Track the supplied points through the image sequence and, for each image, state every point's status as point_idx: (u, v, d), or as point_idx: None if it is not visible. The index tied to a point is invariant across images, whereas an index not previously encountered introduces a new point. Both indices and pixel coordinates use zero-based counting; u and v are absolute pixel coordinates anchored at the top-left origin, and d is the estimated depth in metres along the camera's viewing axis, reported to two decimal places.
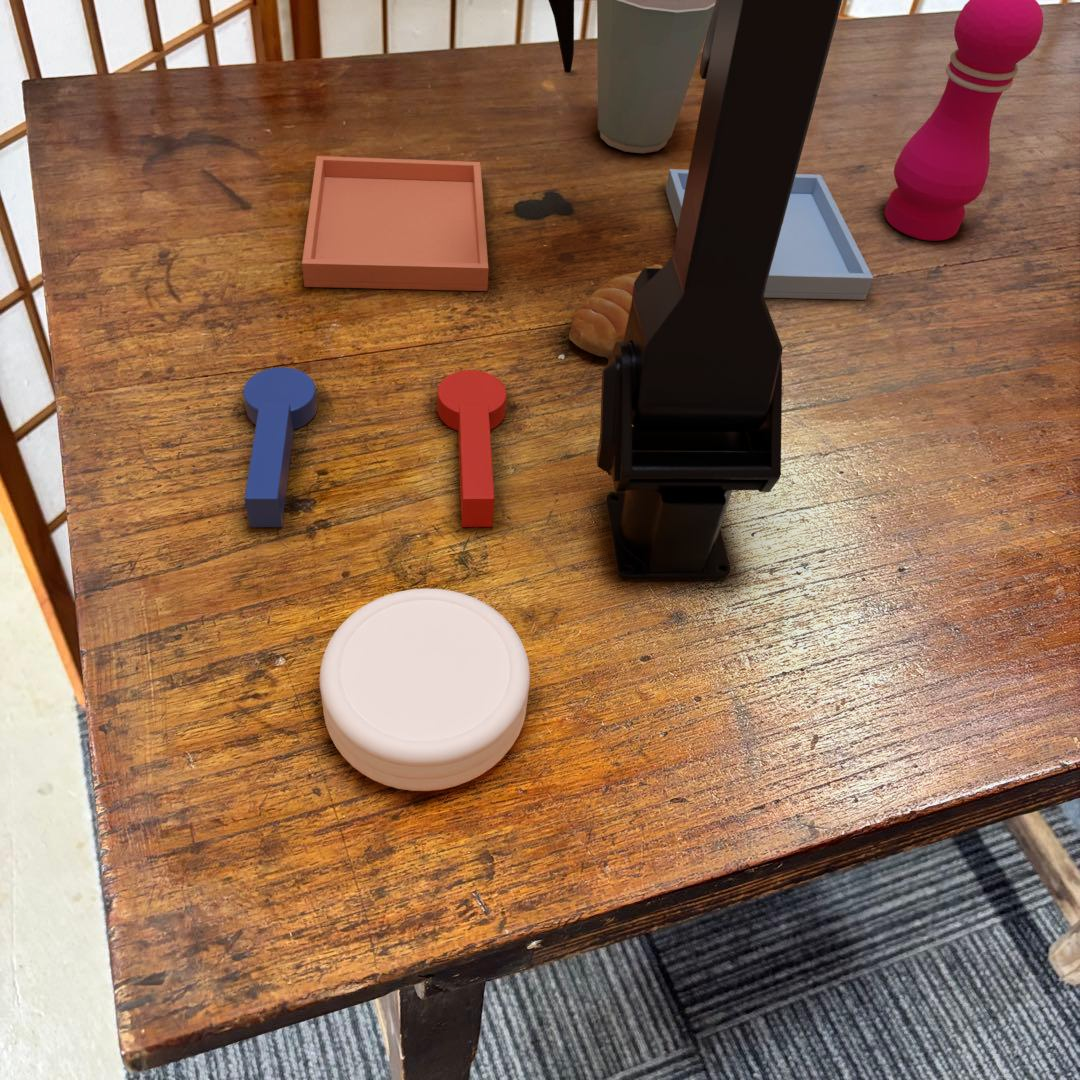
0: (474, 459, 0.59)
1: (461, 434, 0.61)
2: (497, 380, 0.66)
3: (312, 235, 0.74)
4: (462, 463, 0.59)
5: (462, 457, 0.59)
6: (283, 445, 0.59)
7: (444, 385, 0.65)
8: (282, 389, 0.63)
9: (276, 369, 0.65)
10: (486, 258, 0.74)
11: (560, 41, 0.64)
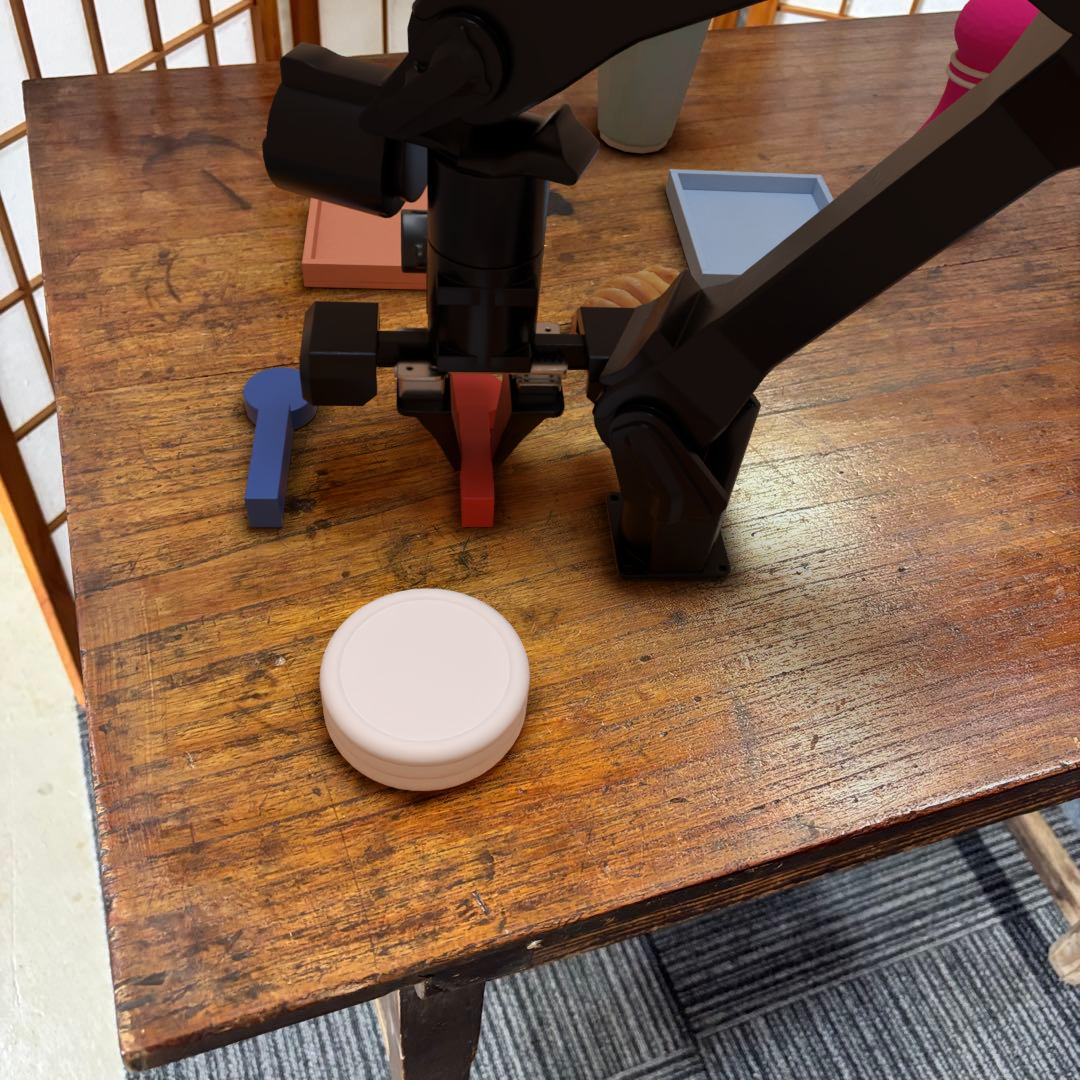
0: (474, 459, 0.59)
1: (461, 434, 0.61)
2: (497, 380, 0.66)
3: (312, 235, 0.74)
4: (462, 463, 0.59)
5: (462, 457, 0.59)
6: (283, 445, 0.59)
7: None
8: (282, 389, 0.63)
9: (276, 369, 0.65)
10: None
11: (445, 453, 0.58)
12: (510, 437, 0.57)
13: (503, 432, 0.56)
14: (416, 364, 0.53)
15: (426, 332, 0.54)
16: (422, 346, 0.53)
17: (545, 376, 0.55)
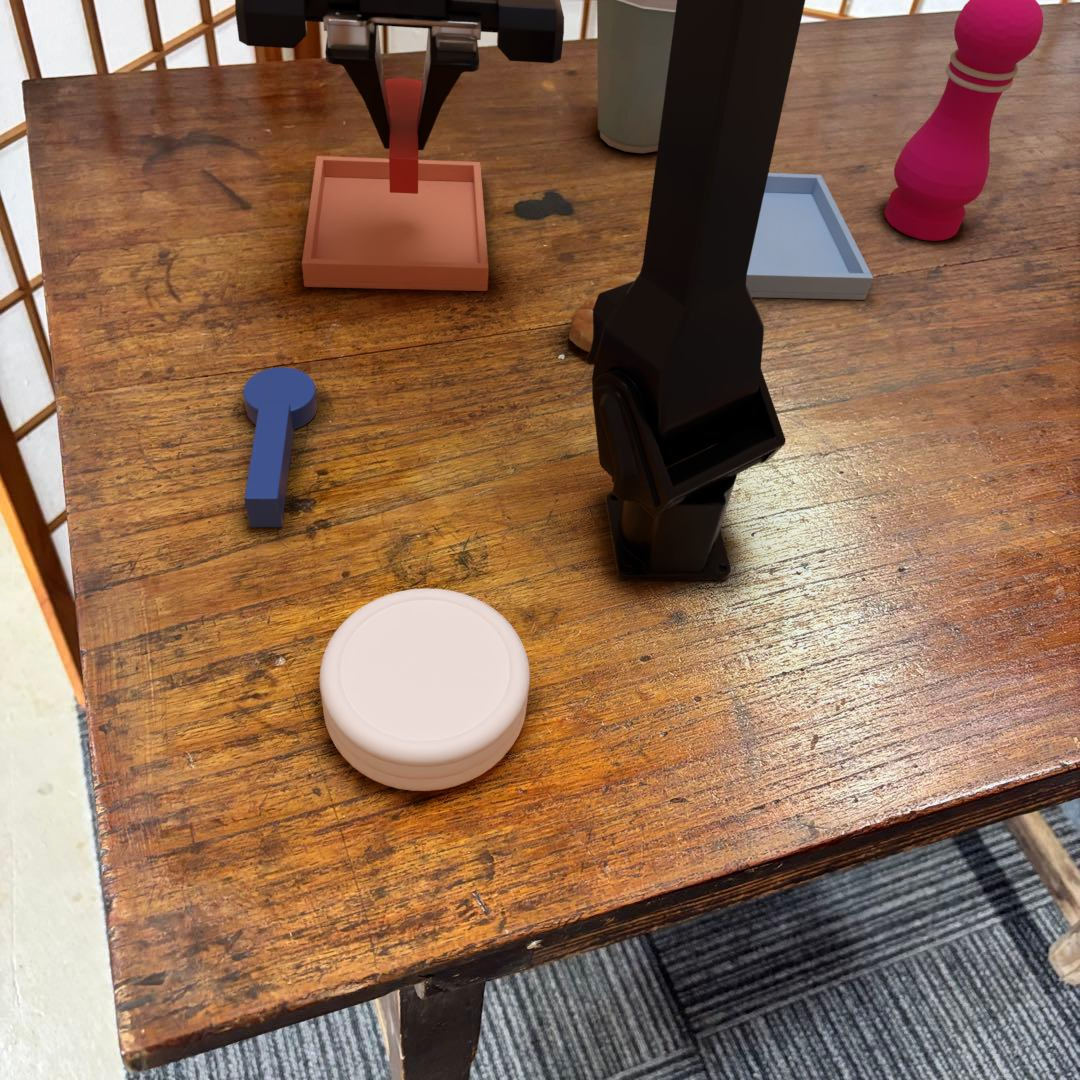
0: (402, 132, 0.65)
1: (391, 115, 0.66)
2: None
3: (312, 235, 0.74)
4: (390, 134, 0.65)
5: (390, 130, 0.65)
6: (283, 445, 0.59)
7: None
8: (282, 389, 0.63)
9: (276, 369, 0.65)
10: (486, 258, 0.74)
11: (374, 120, 0.64)
12: (431, 99, 0.62)
13: (425, 92, 0.62)
14: (343, 12, 0.59)
15: None
16: None
17: (462, 34, 0.61)
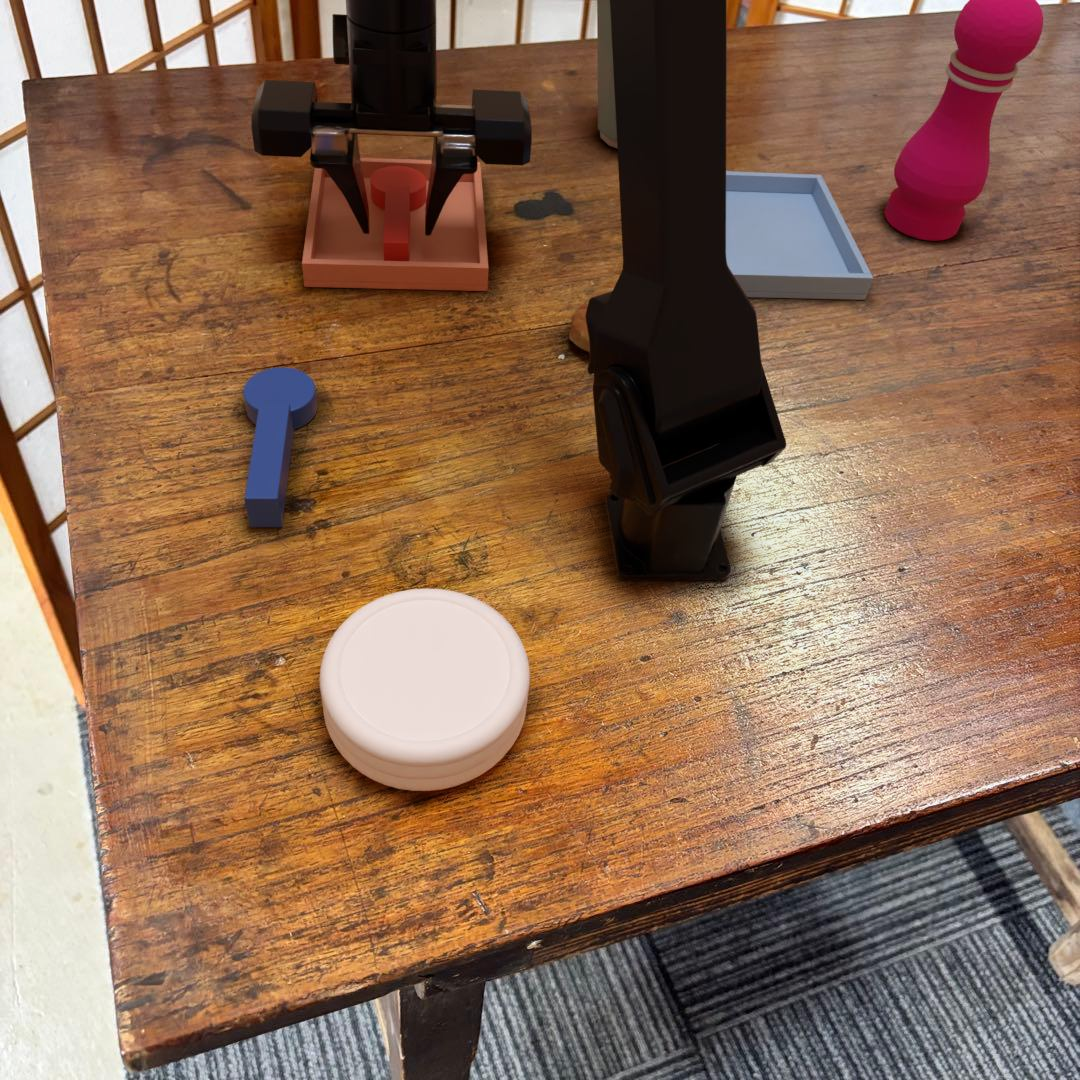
0: (395, 218, 0.75)
1: (386, 202, 0.76)
2: (419, 173, 0.81)
3: (312, 235, 0.74)
4: (385, 220, 0.75)
5: (385, 217, 0.75)
6: (283, 445, 0.59)
7: (376, 175, 0.80)
8: (282, 389, 0.63)
9: (276, 369, 0.65)
10: (486, 258, 0.74)
11: (353, 211, 0.74)
12: (437, 195, 0.72)
13: (431, 190, 0.72)
14: (324, 125, 0.69)
15: (351, 103, 0.70)
16: (347, 113, 0.69)
17: (462, 142, 0.71)
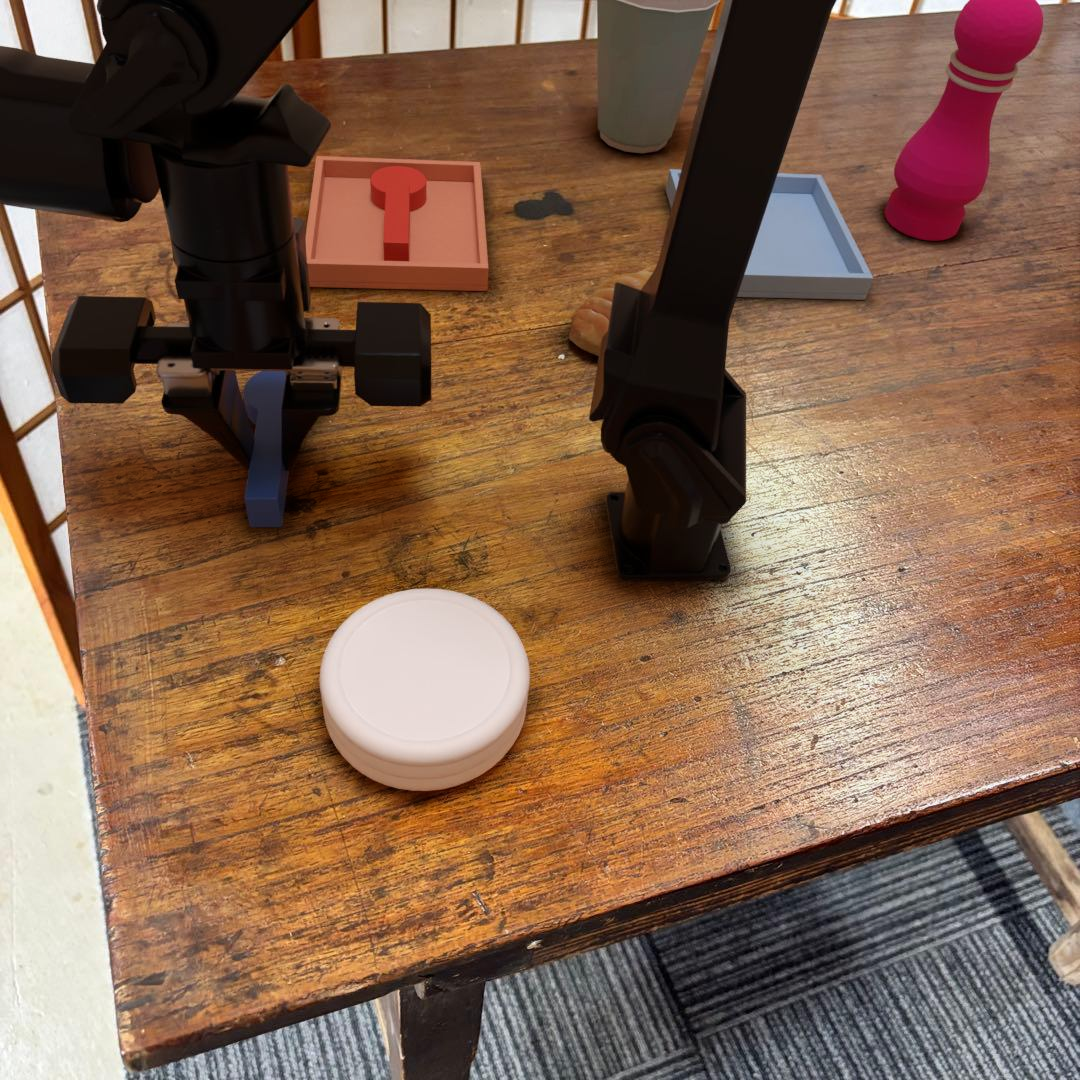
0: (395, 218, 0.75)
1: (386, 202, 0.76)
2: (419, 173, 0.81)
3: (312, 235, 0.74)
4: (385, 220, 0.75)
5: (385, 217, 0.75)
6: None
7: (376, 175, 0.80)
8: (281, 388, 0.63)
9: None
10: (486, 258, 0.74)
11: (229, 452, 0.57)
12: (290, 435, 0.55)
13: None
14: (179, 360, 0.52)
15: None
16: (186, 342, 0.52)
17: (319, 373, 0.54)
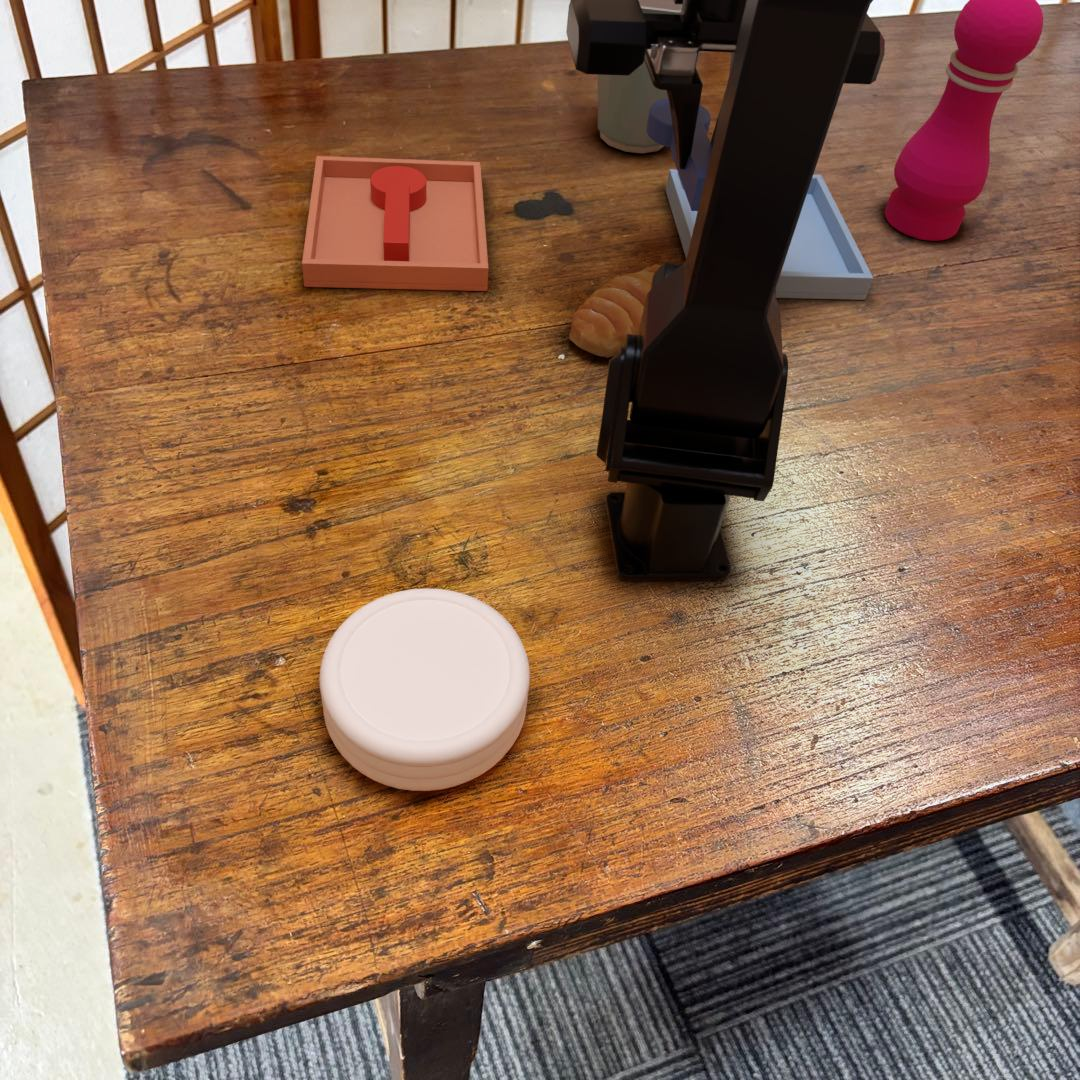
0: (395, 218, 0.75)
1: (386, 202, 0.76)
2: (419, 173, 0.81)
3: (312, 235, 0.74)
4: (385, 220, 0.75)
5: (385, 217, 0.75)
6: (711, 144, 0.68)
7: (376, 175, 0.80)
8: None
9: None
10: (486, 258, 0.74)
11: (680, 142, 0.66)
12: None
13: None
14: (674, 39, 0.61)
15: (679, 15, 0.61)
16: (677, 25, 0.61)
17: None
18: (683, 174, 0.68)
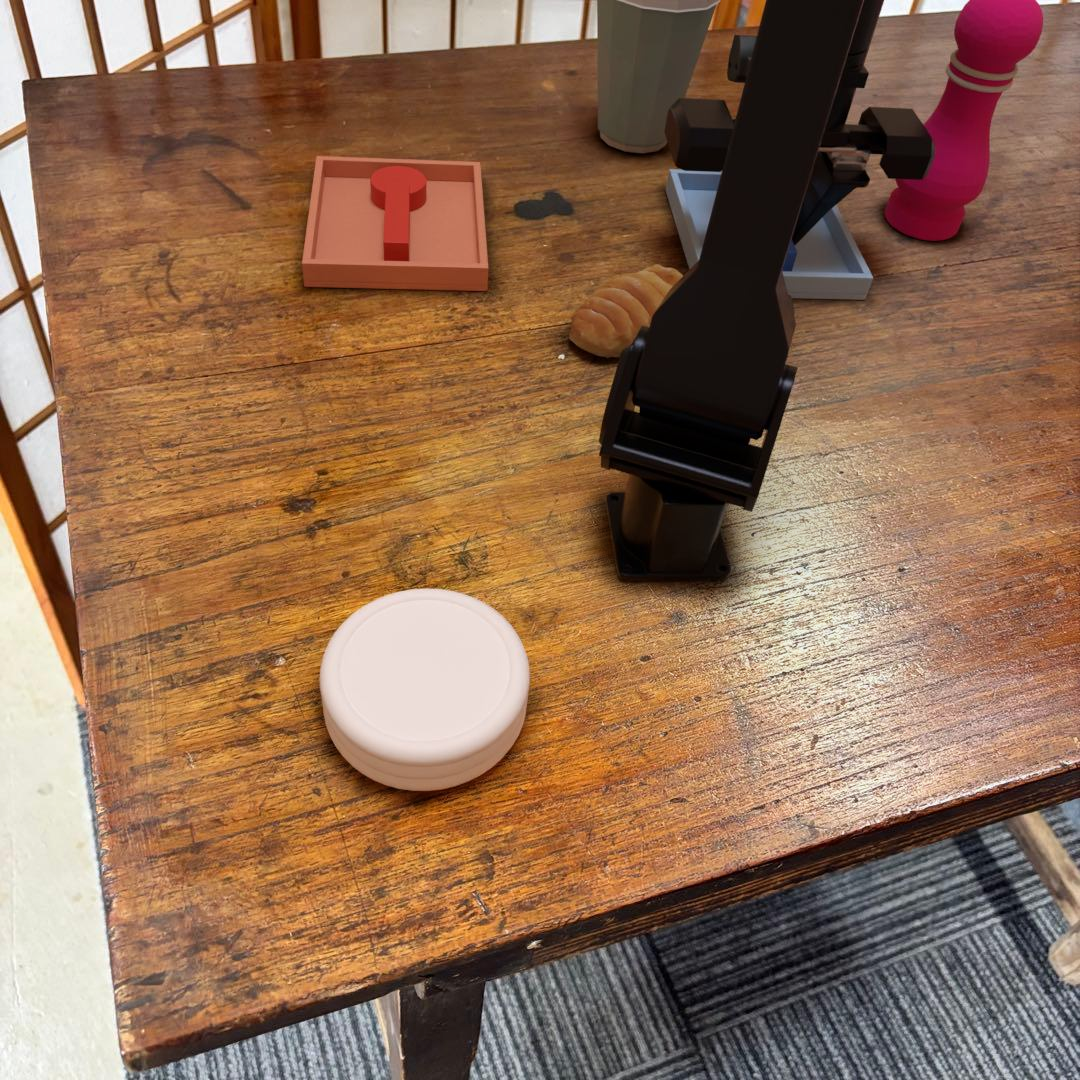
0: (395, 218, 0.75)
1: (386, 202, 0.76)
2: (419, 173, 0.81)
3: (312, 235, 0.74)
4: (385, 220, 0.75)
5: (385, 217, 0.75)
6: None
7: (376, 175, 0.80)
8: None
9: None
10: (486, 258, 0.74)
11: None
12: (821, 207, 0.76)
13: (817, 203, 0.75)
14: None
15: None
16: None
17: (854, 157, 0.74)
18: None
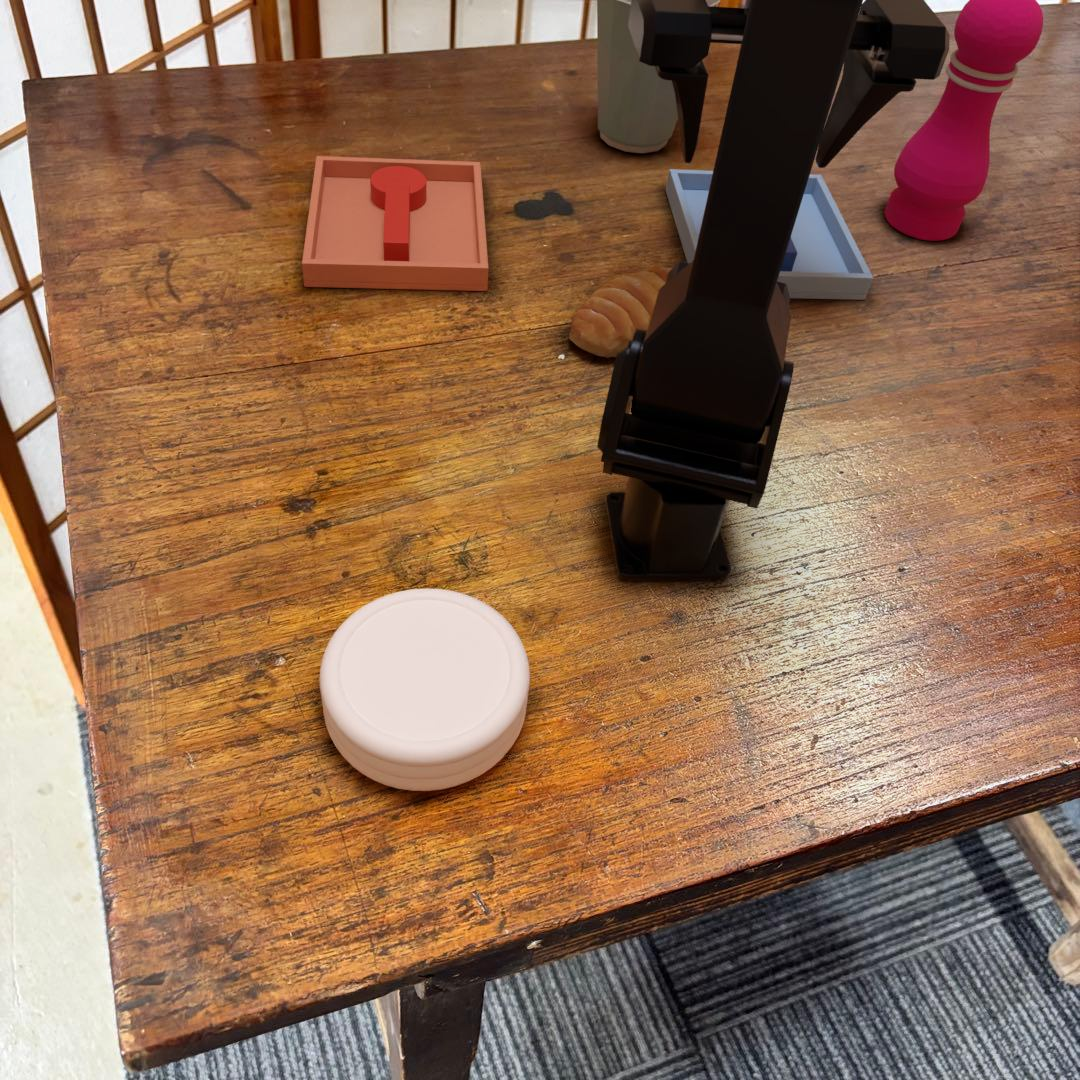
0: (395, 218, 0.75)
1: (386, 202, 0.76)
2: (419, 173, 0.81)
3: (312, 235, 0.74)
4: (385, 220, 0.75)
5: (385, 217, 0.75)
6: None
7: (376, 175, 0.80)
8: None
9: None
10: (486, 258, 0.74)
11: (685, 135, 0.65)
12: (857, 118, 0.64)
13: (853, 112, 0.64)
14: None
15: (743, 8, 0.61)
16: (741, 18, 0.61)
17: None
18: None
